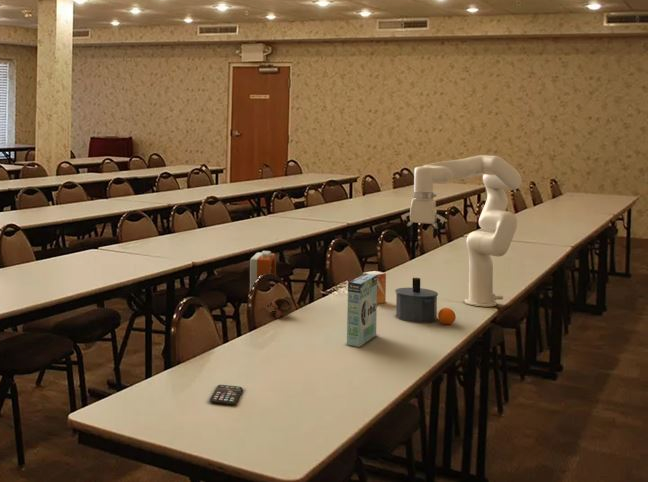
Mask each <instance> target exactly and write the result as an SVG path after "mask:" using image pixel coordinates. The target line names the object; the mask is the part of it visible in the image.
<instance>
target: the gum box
mask: <svg viewBox="0 0 648 482" xmlns="http://www.w3.org/2000/svg"><path fill="white" fill-rule="evenodd" d="M364 273H365V272H364ZM377 305H378V304H377V275H375V274H367V273H365V274H363V273H362V274H361V275H360V276H358V277H355V278H354V279H352V280H349V281H348V282H347V316H346V317H347V318H346V320H347V321H346V322H347V323H346V346H350V347H357V348H360V347H362V346H363V345H365V344H366V343H367V342H368V341H370V340H371V339H373V338H374V337H376V336H377V313H378V311H377V309H378V308H377V307H378V306H377Z"/></svg>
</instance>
